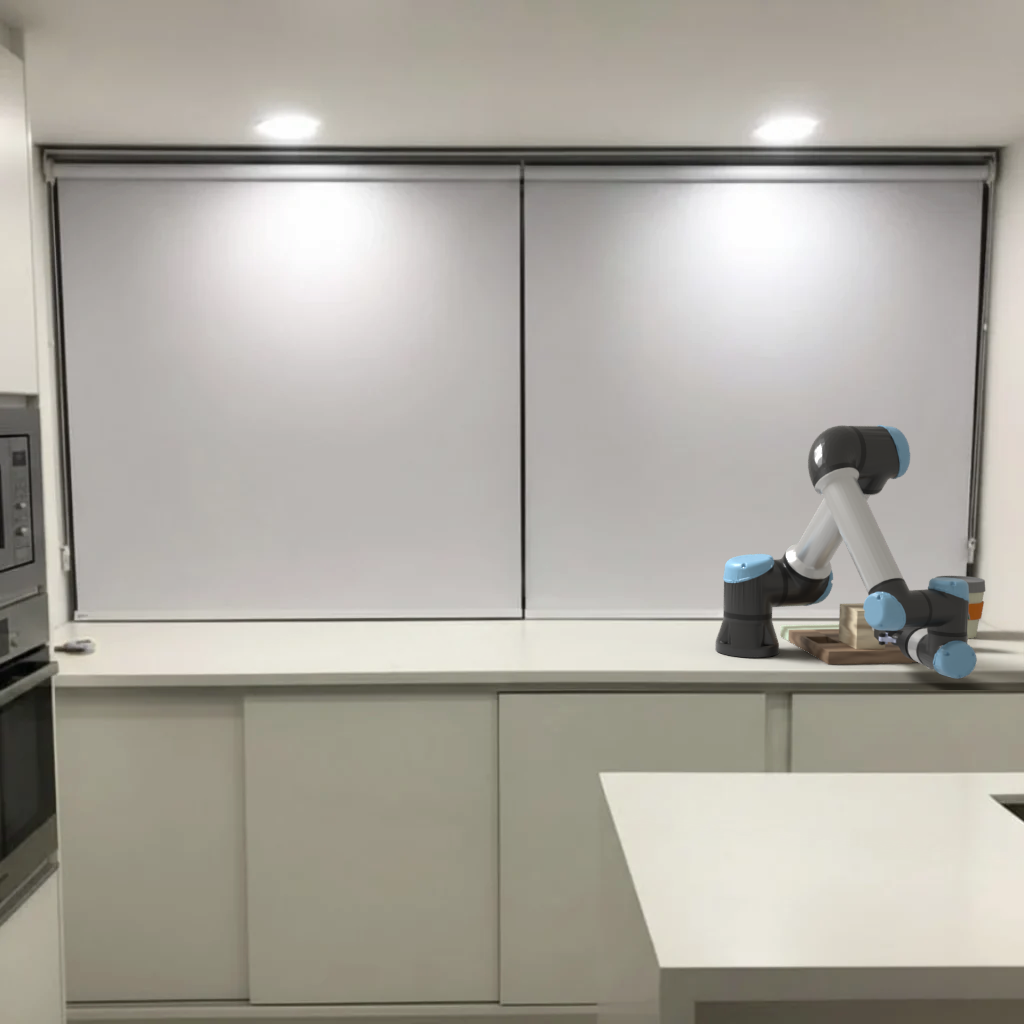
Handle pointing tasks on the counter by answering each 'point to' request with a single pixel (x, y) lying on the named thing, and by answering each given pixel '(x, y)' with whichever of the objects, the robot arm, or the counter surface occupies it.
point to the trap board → (838, 646)
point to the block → (856, 628)
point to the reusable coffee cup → (973, 602)
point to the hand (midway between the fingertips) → (875, 624)
